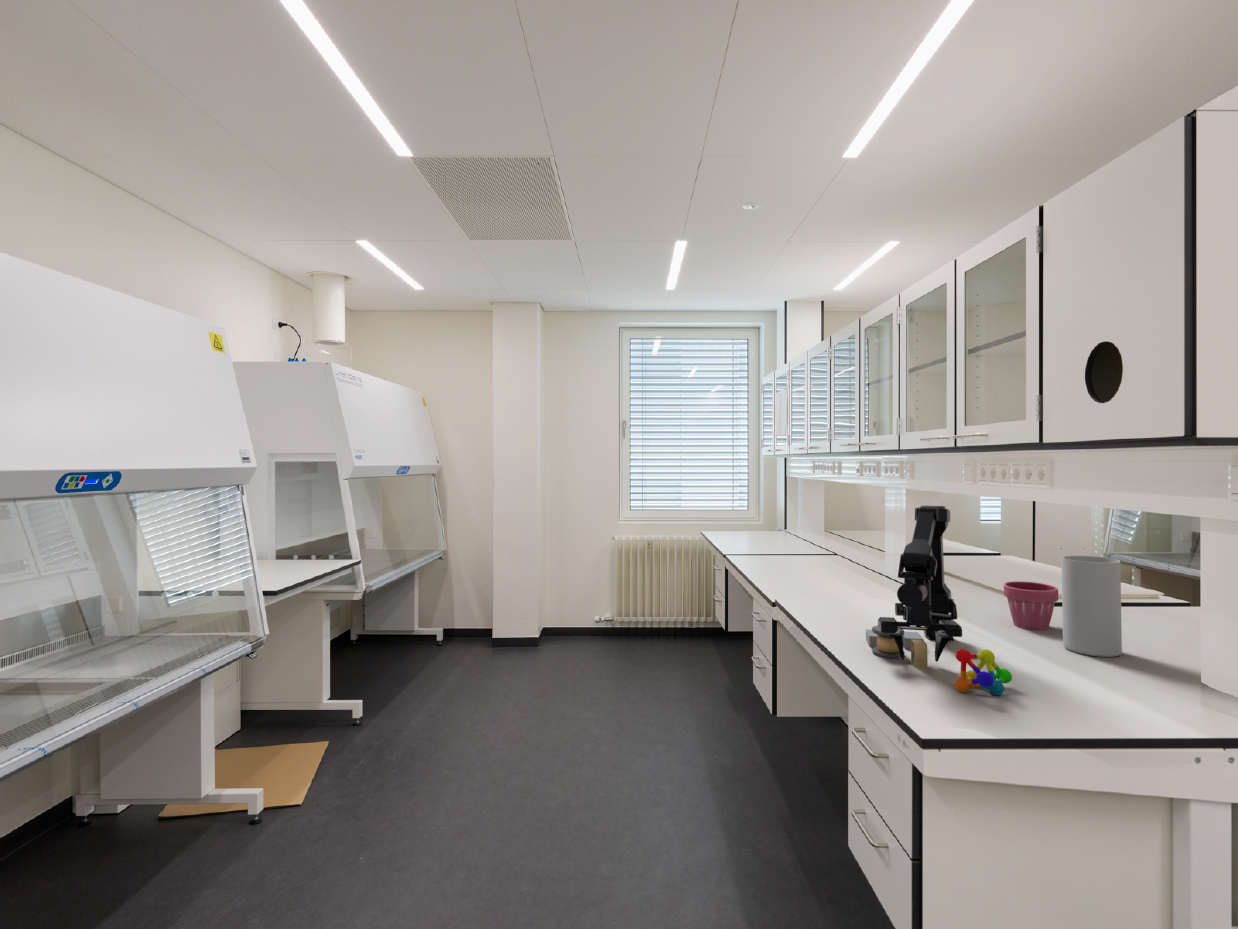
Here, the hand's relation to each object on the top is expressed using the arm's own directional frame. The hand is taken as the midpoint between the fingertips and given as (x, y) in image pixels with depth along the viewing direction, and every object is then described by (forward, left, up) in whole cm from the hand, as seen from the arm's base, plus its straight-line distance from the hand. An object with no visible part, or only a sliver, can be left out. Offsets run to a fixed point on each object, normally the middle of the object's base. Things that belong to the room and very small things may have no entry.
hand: (919, 660), depth 151 cm
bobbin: (+6, -8, -1) cm, 10 cm away
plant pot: (-42, -46, -2) cm, 62 cm away
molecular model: (-10, +15, -2) cm, 18 cm away
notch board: (+3, -17, -1) cm, 17 cm away
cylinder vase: (-48, -23, -2) cm, 53 cm away
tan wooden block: (0, 0, -1) cm, 1 cm away
